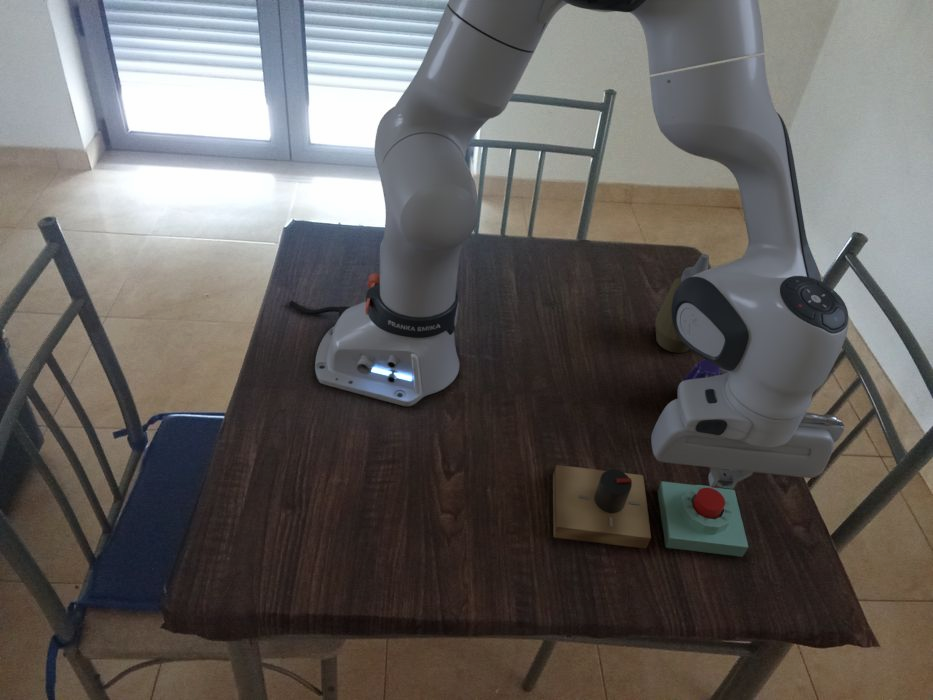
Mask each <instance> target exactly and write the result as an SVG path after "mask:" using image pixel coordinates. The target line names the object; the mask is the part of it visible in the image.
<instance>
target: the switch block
mask: <svg viewBox="0 0 933 700" xmlns="http://www.w3.org/2000/svg"><path fill="white" fill-rule="evenodd" d="M702 488H712V489H715V490H717V491H718V492H720V493H721V494H722V496H723V497H724V499H725V506H724V508H723V510H722V511H721V513H720V515H719V516H718V517H716V518H706V517H703V516H701V515H700V514H698V513H697V512H696V510H695V509H694V506H693V501H694V498H695V496H696V494H697V492H698V491H699V490H700V489H702ZM657 497H658V504H659V505H658V506H659V512H660V519H661V526H662V532H663V533H662V534H663V540H664V547H665V549H666V548H667V549H676V550H681V551H683V550H684V551H691V552H701V553H706V554H707V553H708V554H715V555H723V556H732V557H741V558H743V557H744V555H745V554H746V552H747V551H748V549H749V543H748V540H747V535H746V531H745V527H744V522H743V518H742V515H741V511H740V507H739V503H738V498H737V495H736V490H735V489H730V488H722V487H711V486H710V485H704V484H703V485H702V484H688V483H679V482H671V481H664V480H663V481H662V480H661V481H660V484H659V486H658V489H657Z"/></svg>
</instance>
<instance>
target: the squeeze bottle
mask: <svg viewBox="0 0 933 700" xmlns="http://www.w3.org/2000/svg"><path fill="white" fill-rule="evenodd" d="M709 260H710V256H709V255H708V253H707V254H706V253H701V255H700V256H699V257H698V259H697V260H696V262H695V264H694V265H693V266H688V267H686V268H685V269H683V270H682V274H681V276H679V277H677V278H675V279H674V281H673V282H672V284H671V286H670V288H669V289H668V292H667V294H666V296H665V298H664V301H663V303H662V304H661V307H660V308H659V311H658V312H657V315H656V317H655V319H654V322H655V323H654V324H655V337H656V342H657V344H658V345H659V346H660V347H661V348H662V349H664V350H666V351H668V352H670V353H676V354H681V353H685V352H688V351H689V350H691V349H690V348H689V347H688V346H686V345H685V344H684V343H683V342H682V340H681V339H680V338H679V336H678V335H677V333H676V331H675V328H674V325H673V321H672V312H671V310H672V301H673V297H674V294H675V291H676V289H677V287H678V286H679V284H680V283H681V282H682V281H683V280H685V279H687V278H689V277H691V276H693V275H696V274H698V273H700V272H703V271H705V270H708V269H709Z"/></svg>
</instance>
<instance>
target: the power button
mask: <svg viewBox="0 0 933 700" xmlns="http://www.w3.org/2000/svg"><path fill="white" fill-rule="evenodd" d="M693 506H694V509H695V510H696V512H697V513H698V514H700V515H701V516H703V517H706V518H716V517H718V516H719V515H720V513H721V511H722V510H723V508H724V506H725V499H724V497H723V496H722V494H721V493H720V492H718V491H717V490H715V489H712V488H702V489H700V490H699V491H698V492H697V494H696V496H695V498H694V501H693Z"/></svg>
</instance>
